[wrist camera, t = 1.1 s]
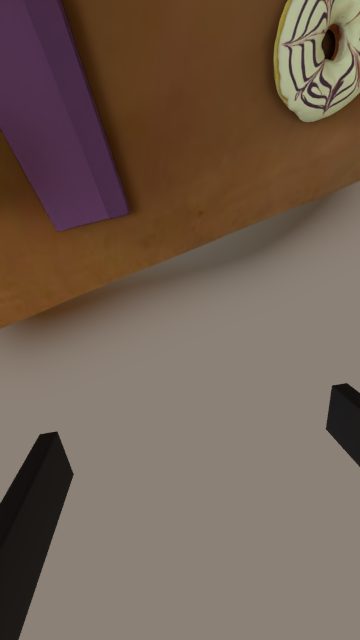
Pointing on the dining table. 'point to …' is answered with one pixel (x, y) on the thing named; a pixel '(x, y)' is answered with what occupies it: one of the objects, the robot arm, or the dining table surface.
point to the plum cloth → (54, 116)
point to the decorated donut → (317, 57)
